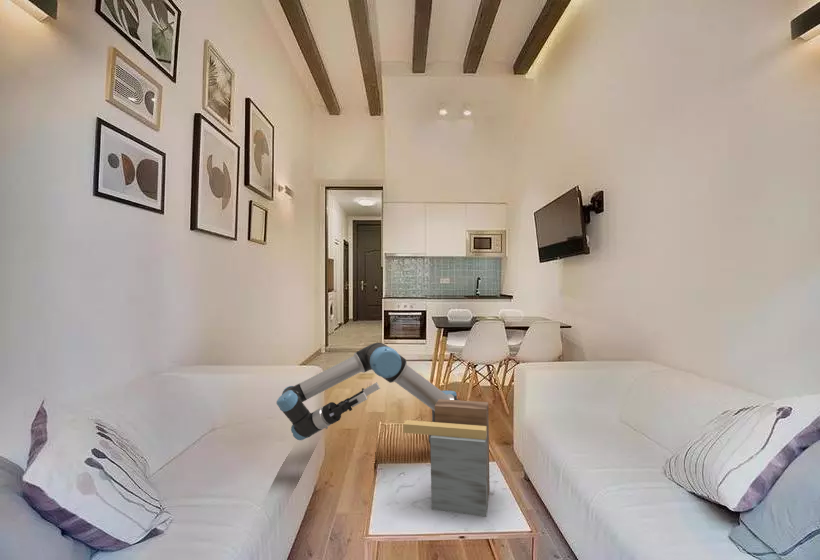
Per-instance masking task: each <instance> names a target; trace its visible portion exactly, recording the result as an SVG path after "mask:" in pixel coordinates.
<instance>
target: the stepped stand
mask: <svg viewBox="0 0 820 560" xmlns="http://www.w3.org/2000/svg"><path fill="white" fill-rule="evenodd" d="M489 421H490V420H489V401H479V400H478V401H476V400H460V399H458V400H446V399H439V400H438V401H437V403H436V405H435V422H439V423H452V424H465V425H479V426H487V437H486V440H483V439H471V438H459V437H447V436H436V435H431V437H430V442H429V443H430V485H431V486H430V490H431V499H430V500H431V510H435V511H443V512H451V513H458V514H465V515H466V514H467V515H474V516H480V517H487V515H488V506H489V500H490V499H489V498H490V488H491V487H490V435H489V433H490V432H489V431H490V430H489Z"/></svg>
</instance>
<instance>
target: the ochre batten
mask: <svg viewBox="0 0 820 560" xmlns="http://www.w3.org/2000/svg"><path fill="white" fill-rule="evenodd" d="M402 425H403V426H402V433H403V434H413V435H425V436H427V435H428V436H429V435H436V436H447V437H459V438H471V439H483V440H486V437H487V426H479V425H465V424H452V423H439V422H432V421H425V420H423V421H422V420H410V419H406V420H405V421H404V423H402Z"/></svg>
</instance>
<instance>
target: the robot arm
mask: <svg viewBox="0 0 820 560" xmlns="http://www.w3.org/2000/svg"><path fill="white" fill-rule="evenodd" d="M371 370H372V371H373V373H374V374H376V376H379V377H380V378H383V379H384V380H385V381H387V383H392V384H393V383H395V384H397V385H398V386H399V387H401V388H402V389H403V390H404V391H407V392H408V393H409V394H410V395H412V396H413V397H415V398H416V399H417V400H419V401H420V402H421V403H423V404H425V406H427V407H428V408H429V409H431V415H432V416H431V420H432V421H431V422H435V405H436V403H437V401H438V400H439V399H446V400H459V398H457V397H458V395H457V394H458V393H457V392H456V391H454V390H441V389H439V388H438V387H437V386H435V385H434V384H433V383H431V382H430V381H429V380H428V379H426V378H425V377H424V376H423V375H421V374H420V373H418V372H417V371H416V370H415V369H413V368H412V367H410V366H409V365H408V364H407V359H406V358H405V357H403V356H402V355H401V354H399V353H398V352H397V351H396V350H395V349H394V348H393V347H390V346H388V345H387V344H385V343H382V342H374V343H371V344H369V345H367V346H365V347H363V348H362V349H359V350H358V351H356V352H354V353H353V355H352V356H351V357H348V358H347V359H345V360H343V361H341V362H339V363H337V364H335V365H333V366H331V367H329V368H327V369H325V370H323V371H321V372H319V373H317V374H316V375H313V376H312V377H309V378H307V379H305V380H304V381H302V382H299V383H297V384H295V385H289V386H286V387H285V388H284V389H283V391H282V393H281V395H279V397H278V398H277V400H276V405H277V406H278V408H279V410H280V411H281V412H282V413H283V414H284V415H285V417H286V418H287V419H288V420H289V421H290V422H291V424H292V425H291V428H290V431H291V433H292V436H293V437H294V438H295V440H297V441H303V440H306V439H308V438H310V437H311V436H314V435H315V434H317V433H319V432H321V431H322V430H324V429H325V430H327V429H328V428H329V426H331V425H334V424H335V423H337V422H339V421H340V420H341V418H342V414H344V413H345V412H346V413H347V412H348V411H349V412H350V411H353V408H355V407H357V406H358V405H360V404H361V403H363V402H365V401H367V400H368V397H367V396H369V395H371V394H373V393H375V392H376V391H378V390H380V389H381V387H380V385H379V384H378V382H375V383H372V384H371V385H369V386H367V387H366V388H364V387H363V388H361V390H360V391H359V392H357V393H355V394H354V395H352V396H350V397H348V398H346V399H344V400H341V401H339V402H338V403H336V402H333V401H331V402H328V403H326V404H325V405H324V406H321V407H319V408H318V409H316V410H314V411H313V412H310V411H309V409H308V407H307V406H306V405H305V404H304V402H306V401H308V400H310V399H311V398H313V397H315V396H317V395H319V394H321V393H323V392H325V391H326V390H328V389H331V388H333V387H335V386H336V385H338V384H341V383H342V382H344V381H346V380H348V379H349V378H352V377H354V376H356V375H358V374H359V373H364V374H365V373H367V372H368V371H371ZM430 437H431V435H428V442H429V443H430Z"/></svg>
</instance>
